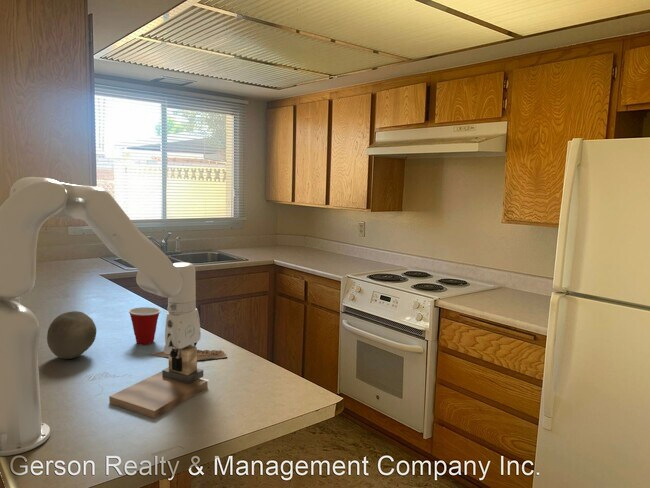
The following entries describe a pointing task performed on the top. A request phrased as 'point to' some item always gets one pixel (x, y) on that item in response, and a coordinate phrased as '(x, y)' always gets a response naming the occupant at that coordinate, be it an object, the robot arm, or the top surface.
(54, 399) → the top surface
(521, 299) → the top surface
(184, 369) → the block
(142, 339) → the plastic cup
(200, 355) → the wooden fragment
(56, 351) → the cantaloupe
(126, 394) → the board
